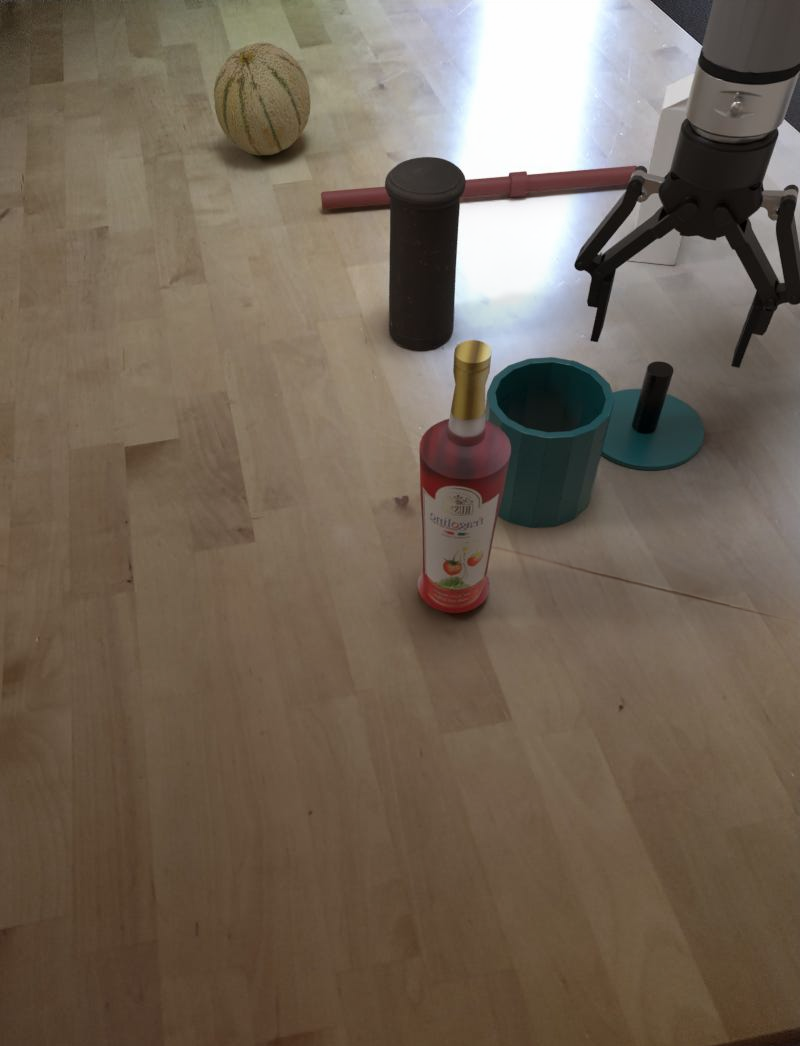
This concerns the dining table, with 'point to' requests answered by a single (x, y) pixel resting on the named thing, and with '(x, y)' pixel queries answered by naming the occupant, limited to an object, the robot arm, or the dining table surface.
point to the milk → (664, 170)
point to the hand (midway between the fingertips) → (665, 346)
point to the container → (423, 250)
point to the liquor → (461, 489)
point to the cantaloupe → (262, 99)
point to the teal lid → (652, 425)
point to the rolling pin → (494, 186)
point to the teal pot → (549, 437)
